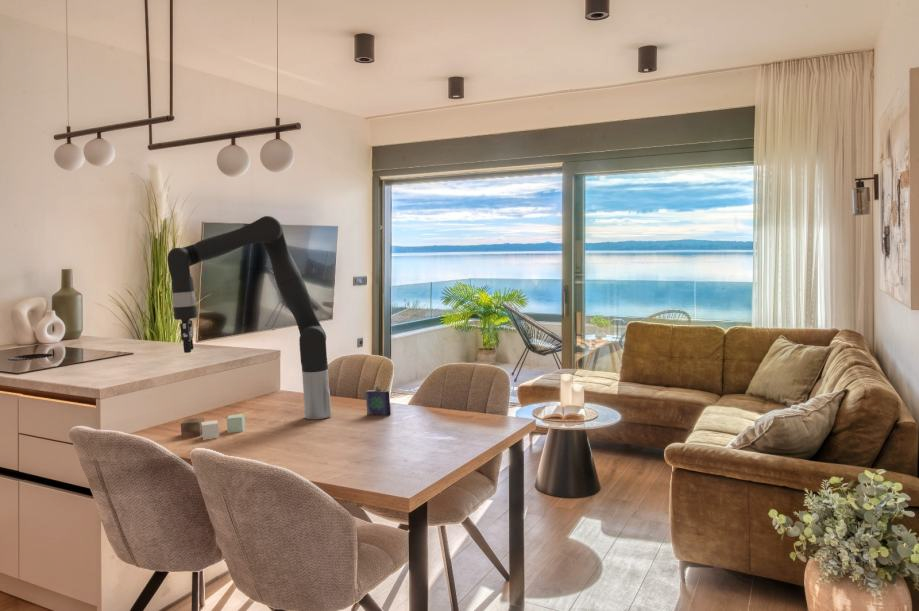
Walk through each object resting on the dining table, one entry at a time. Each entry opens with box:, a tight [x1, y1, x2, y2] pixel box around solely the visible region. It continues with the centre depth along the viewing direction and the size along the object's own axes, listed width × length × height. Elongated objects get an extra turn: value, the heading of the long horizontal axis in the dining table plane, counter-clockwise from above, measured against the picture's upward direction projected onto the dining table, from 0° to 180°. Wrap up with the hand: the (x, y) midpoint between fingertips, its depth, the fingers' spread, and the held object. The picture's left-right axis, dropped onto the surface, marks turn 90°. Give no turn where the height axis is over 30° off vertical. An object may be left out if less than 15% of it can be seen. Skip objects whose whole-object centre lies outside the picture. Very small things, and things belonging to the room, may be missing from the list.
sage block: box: [226, 413, 246, 433], centre depth 227 cm, size 5×5×5 cm
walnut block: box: [180, 417, 205, 438], centre depth 224 cm, size 6×6×5 cm
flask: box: [365, 385, 392, 417], centre depth 239 cm, size 9×3×11 cm, turn 71°
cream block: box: [201, 419, 220, 441], centre depth 219 cm, size 5×5×5 cm
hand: (188, 351), depth 231 cm, fingers open, 8 cm apart
